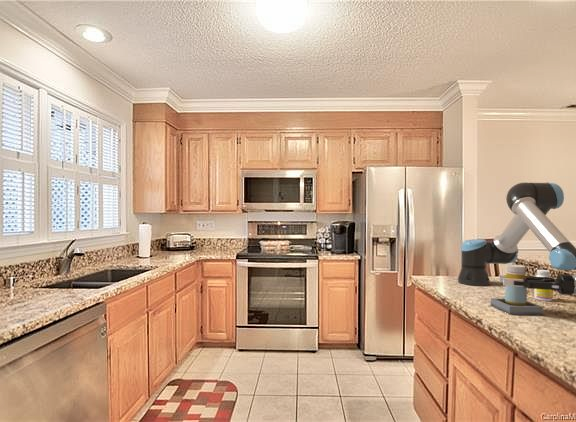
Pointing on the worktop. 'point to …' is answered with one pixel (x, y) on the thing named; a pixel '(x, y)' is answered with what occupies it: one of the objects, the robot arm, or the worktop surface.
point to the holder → (516, 307)
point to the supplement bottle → (543, 293)
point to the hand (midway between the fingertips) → (501, 280)
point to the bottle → (513, 293)
